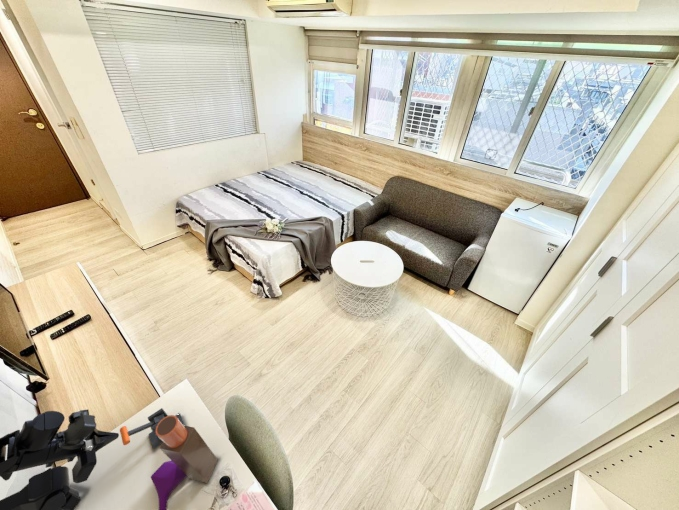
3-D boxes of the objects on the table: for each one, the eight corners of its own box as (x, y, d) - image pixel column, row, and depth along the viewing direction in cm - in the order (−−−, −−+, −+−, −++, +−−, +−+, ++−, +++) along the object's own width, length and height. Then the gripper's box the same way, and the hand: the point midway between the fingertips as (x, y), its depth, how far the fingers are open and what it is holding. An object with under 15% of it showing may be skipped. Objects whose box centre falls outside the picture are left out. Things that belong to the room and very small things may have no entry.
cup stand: (190, 478, 82) (158, 448, 69) (201, 456, 87) (174, 423, 73) (207, 483, 82) (179, 453, 68) (218, 460, 86) (194, 427, 72)
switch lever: (123, 447, 80) (123, 441, 79) (119, 432, 83) (119, 427, 83) (166, 427, 88) (166, 422, 88) (161, 415, 92) (161, 410, 91)
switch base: (154, 450, 89) (141, 437, 83) (150, 435, 92) (137, 422, 87) (186, 427, 94) (175, 414, 89) (180, 414, 98) (170, 400, 92)
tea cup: (161, 446, 69) (150, 434, 65) (175, 425, 73) (165, 413, 69) (179, 450, 68) (168, 438, 64) (191, 429, 72) (182, 416, 68)
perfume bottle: (178, 465, 78) (152, 552, 69) (192, 461, 85) (169, 540, 76) (154, 462, 79) (125, 548, 70) (170, 458, 85) (145, 536, 76)
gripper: (63, 456, 62) (138, 438, 75) (58, 397, 73) (124, 390, 86) (40, 496, 62) (119, 472, 75) (39, 432, 74) (107, 420, 86)
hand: (118, 435), depth 80 cm, fingers closed
